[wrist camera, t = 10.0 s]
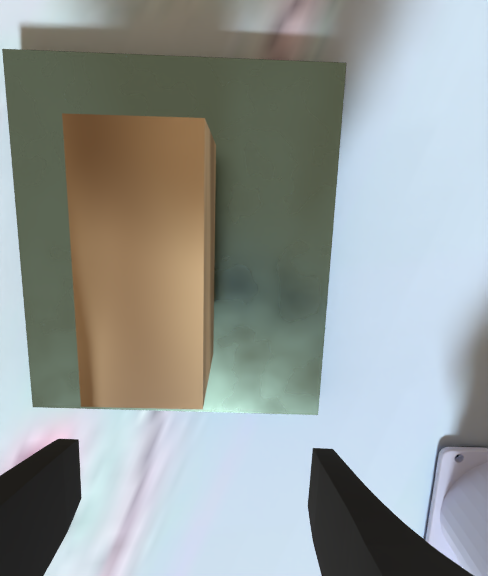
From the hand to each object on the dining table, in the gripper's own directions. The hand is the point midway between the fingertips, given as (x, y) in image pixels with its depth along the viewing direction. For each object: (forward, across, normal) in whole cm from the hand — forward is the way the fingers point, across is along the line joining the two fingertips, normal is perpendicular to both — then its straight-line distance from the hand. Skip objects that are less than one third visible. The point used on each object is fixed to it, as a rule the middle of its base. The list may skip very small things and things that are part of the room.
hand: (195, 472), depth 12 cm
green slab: (+10, +2, -6) cm, 12 cm away
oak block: (+6, +2, -6) cm, 9 cm away
